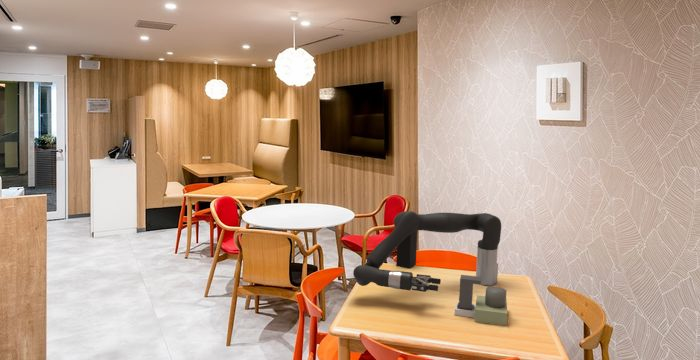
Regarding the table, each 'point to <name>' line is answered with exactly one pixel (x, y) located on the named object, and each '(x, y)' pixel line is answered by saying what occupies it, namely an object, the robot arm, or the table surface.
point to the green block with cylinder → (488, 307)
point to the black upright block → (407, 251)
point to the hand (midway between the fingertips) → (439, 284)
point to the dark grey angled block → (467, 291)
